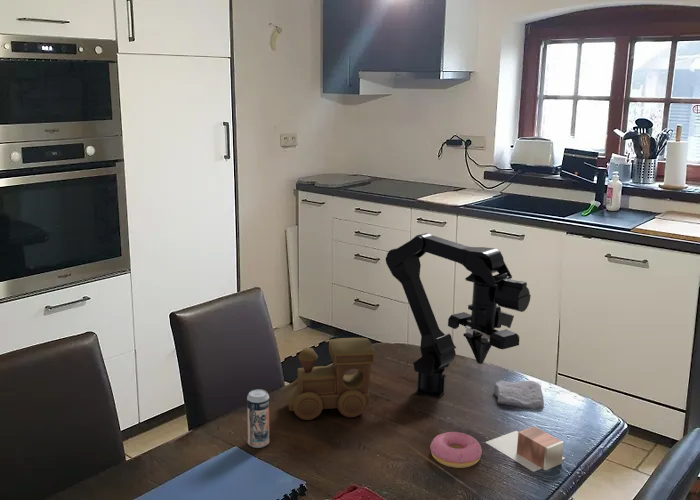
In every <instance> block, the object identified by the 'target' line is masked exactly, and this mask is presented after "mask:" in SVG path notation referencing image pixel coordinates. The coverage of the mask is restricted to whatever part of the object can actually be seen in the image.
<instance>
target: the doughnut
mask: <svg viewBox="0 0 700 500" xmlns="http://www.w3.org/2000/svg"><path fill="white" fill-rule="evenodd" d="M429 447H430V451H431V452H430V453H431V455H432V457H433V458H434V460H435V461H436V462H438V463H439V464H441V465H443V466H445V467H449V468H456V469H465V468H469V467H470V468H471V467H472V466H474V465H475V464H477V463H478V462H479V461H480V460H481V458H482V457H481V456H482V453H483V449H482V446H481V444H480V442H479V441H478V440H477V439H476V438H475V437H473V435H470V434H467V433H464V432H458V431H447V432H441V433H440V434H437V435H436V436H435V437H434V438H433V439H432V440H431V443H430V445H429Z"/></svg>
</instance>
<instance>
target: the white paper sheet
mask: <svg viewBox="0 0 700 500" xmlns="http://www.w3.org/2000/svg"><path fill="white" fill-rule="evenodd" d="M518 432H519V431H518V430H514V431H512V432H508V433H506V434H503V435H501V436H498V437H496V438H492V439H490V440H487V441H485V444H487V445H489V446H490V447H491V448H494V449H495V450H497V451H499V452H500V453H502V454H504V455H505V456H507V457H508V458H510V459H512V460H513V461H515V462H517V463H518V464H520V465H522V466H523V467H525V468H527V469H528V470H530V471H532V472H533V473H534V472H536V471H539V470H543V469H542V468H541V467H539V466H537V465H536V464H534V463H532V462H531V461H529V460H527V459H526V458H524V457H522V456H520V455H519V454H517V443H518ZM565 459H566V457H564V456H562V461H563V460H565Z"/></svg>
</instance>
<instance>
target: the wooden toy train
mask: <svg viewBox="0 0 700 500" xmlns="http://www.w3.org/2000/svg"><path fill="white" fill-rule="evenodd" d="M328 352H329V356H330V358H331V363H332V366H329V365H328V366H326V365H325V366H323V365H321V366H315V364H316V363H317V360H318V358H319V355H318V354H317V353H316V351H315V350H314V348H313V347H304V348H302V350H301V352H300V353H299V355H298V357H297V358H298V360H299V362H300V364H301V366H302V367H299V368H297V378H296V379H295V380H294V381H293V382H292V384H291V386H290V389H289V390H288V391H286V398H287V399H286V400H287V405H288V410H289V412H290V411H291V412H292V411H293V412H294V414H295V415H296V416H297V417H298V418H299V419H301V420H304V421H311V420H314V419H316V418H318V417H319V416H320V415H321V413H322V412H323V410H326V409H329V410H330V409H337V410H338V412H339V413H340V415H342V416H344V417H345V418H356V417H358V416H360V415H362V414H363V412H364V411H365V410H366V407H370V398H371V397H370V395H371V394H370V391H369V389H370V383H371V370H372V369H371V368H372V367H371V365H373V364H375V361H376V358H375V357H376V352H375V348H374V345H373V344H372V342H371V341H370V340H369V339H368V338H367V337H342V338H341V337H340V338H332V339H329V340H328ZM350 370H356V371H355V372H354V373H353V374H352V375H351V374H346V373H347V372H349V371H350Z"/></svg>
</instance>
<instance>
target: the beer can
mask: <svg viewBox="0 0 700 500" xmlns="http://www.w3.org/2000/svg"><path fill="white" fill-rule="evenodd" d="M246 402H247V405H246V406H247V408H246V409H247V445H249V446H250V447H252V448H255V449H260V448H264V447H266V446H267V445H269V443H270V395H269V393H268V391H266V390H264V389H257V388H256V389H252V390H250V391H249V392H248V394H247V397H246Z"/></svg>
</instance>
